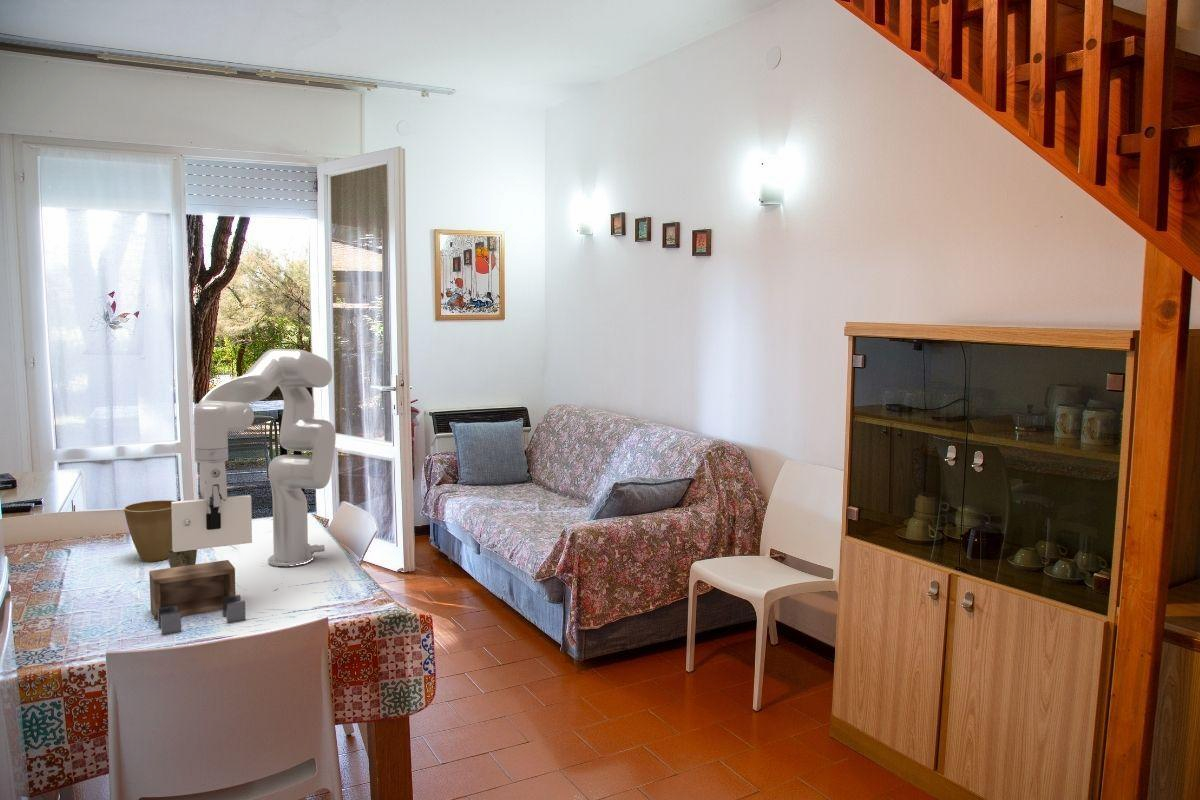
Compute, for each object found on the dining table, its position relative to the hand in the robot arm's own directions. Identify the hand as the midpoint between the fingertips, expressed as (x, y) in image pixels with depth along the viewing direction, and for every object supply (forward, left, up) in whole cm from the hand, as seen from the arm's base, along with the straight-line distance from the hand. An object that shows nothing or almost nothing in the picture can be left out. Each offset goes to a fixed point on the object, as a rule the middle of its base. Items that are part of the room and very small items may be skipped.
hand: (212, 527), depth 214 cm
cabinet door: (0, 0, -5) cm, 5 cm away
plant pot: (+7, -51, -20) cm, 55 cm away
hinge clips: (+5, +12, -20) cm, 24 cm away
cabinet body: (+5, 0, -20) cm, 20 cm away
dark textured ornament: (+3, -28, -20) cm, 34 cm away
